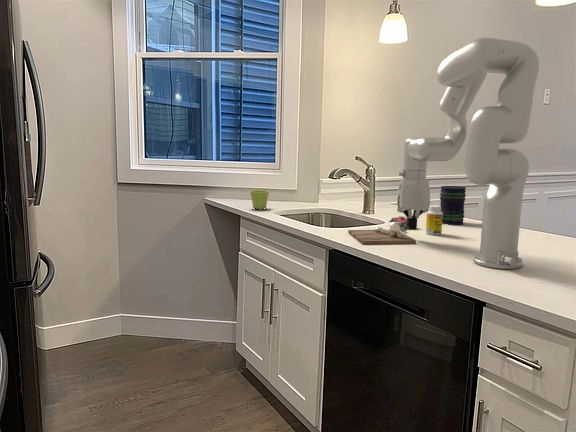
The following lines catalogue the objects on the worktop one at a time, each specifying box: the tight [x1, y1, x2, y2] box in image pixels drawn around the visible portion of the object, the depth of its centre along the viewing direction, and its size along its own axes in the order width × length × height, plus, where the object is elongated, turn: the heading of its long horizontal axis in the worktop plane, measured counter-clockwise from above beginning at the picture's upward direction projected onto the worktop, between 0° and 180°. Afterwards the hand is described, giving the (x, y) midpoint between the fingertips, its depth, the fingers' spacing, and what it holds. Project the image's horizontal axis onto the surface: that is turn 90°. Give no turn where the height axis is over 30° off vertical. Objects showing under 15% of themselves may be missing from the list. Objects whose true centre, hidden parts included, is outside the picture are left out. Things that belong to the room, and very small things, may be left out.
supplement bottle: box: [425, 205, 443, 236], centre depth 178 cm, size 6×6×10 cm
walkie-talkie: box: [389, 215, 409, 232], centre depth 190 cm, size 9×4×20 cm
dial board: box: [347, 229, 417, 246], centre depth 169 cm, size 19×18×1 cm
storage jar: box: [439, 185, 467, 226], centre depth 201 cm, size 10×10×15 cm
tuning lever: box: [373, 221, 403, 238], centre depth 170 cm, size 14×4×4 cm, turn 27°
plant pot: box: [249, 189, 271, 210], centre depth 234 cm, size 9×9×9 cm
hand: (411, 229), depth 167 cm, fingers closed
